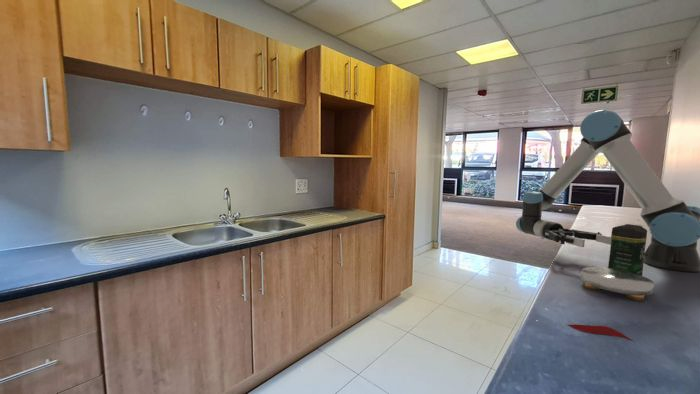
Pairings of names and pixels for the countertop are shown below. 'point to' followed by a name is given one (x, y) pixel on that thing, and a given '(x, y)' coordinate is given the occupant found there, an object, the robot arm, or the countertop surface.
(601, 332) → the curved red sliver
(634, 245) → the coffee jar
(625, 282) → the plate
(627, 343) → the countertop surface
